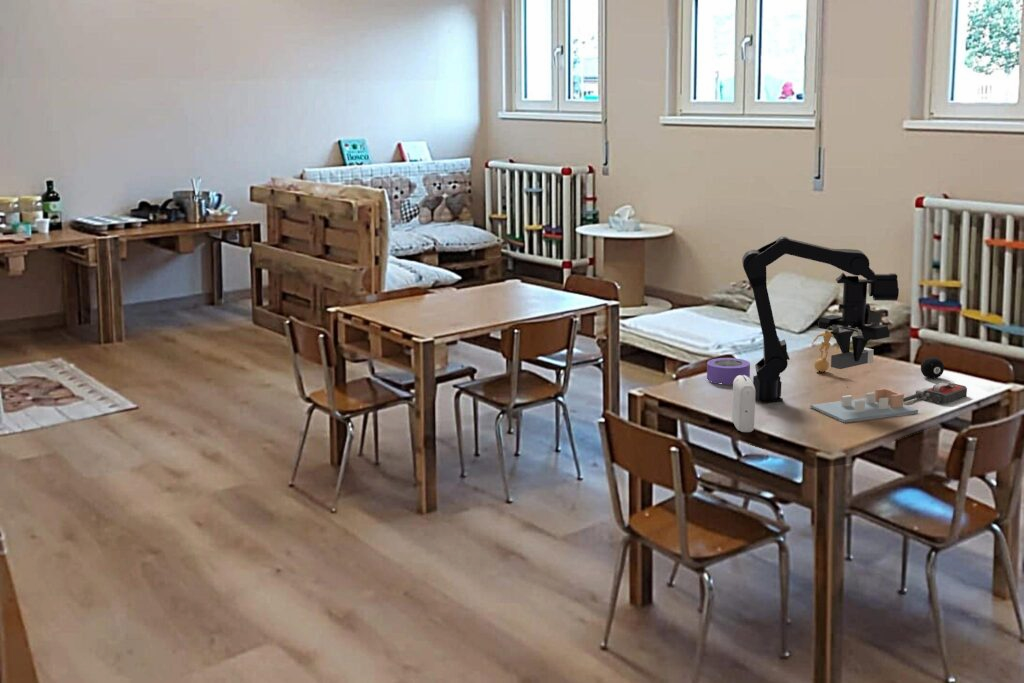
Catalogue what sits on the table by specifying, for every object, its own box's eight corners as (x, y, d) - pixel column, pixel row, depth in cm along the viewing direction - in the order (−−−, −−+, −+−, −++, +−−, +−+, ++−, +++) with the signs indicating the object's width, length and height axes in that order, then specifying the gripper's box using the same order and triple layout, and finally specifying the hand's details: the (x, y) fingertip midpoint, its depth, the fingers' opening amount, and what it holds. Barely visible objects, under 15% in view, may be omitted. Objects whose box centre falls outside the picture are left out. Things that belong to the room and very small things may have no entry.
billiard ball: (926, 381, 312) (927, 360, 311) (916, 375, 318) (917, 355, 317) (946, 380, 313) (948, 359, 312) (936, 375, 319) (938, 354, 317)
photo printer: (755, 432, 269) (757, 382, 266) (737, 432, 269) (739, 382, 266) (747, 419, 279) (749, 371, 276) (730, 420, 279) (731, 371, 276)
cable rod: (840, 369, 287) (841, 356, 286) (830, 366, 289) (830, 353, 289) (873, 362, 293) (873, 349, 292) (862, 359, 296) (863, 347, 295)
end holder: (892, 408, 285) (892, 395, 284) (874, 401, 291) (875, 389, 290) (902, 406, 286) (903, 394, 285) (885, 399, 292) (886, 387, 291)
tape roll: (706, 384, 312) (706, 367, 311) (706, 374, 324) (707, 357, 322) (750, 386, 310) (750, 368, 309) (749, 375, 322) (749, 358, 320)
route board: (843, 422, 276) (844, 409, 275) (810, 407, 289) (810, 394, 288) (917, 412, 283) (918, 399, 282) (881, 398, 296) (882, 386, 295)
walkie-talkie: (939, 390, 304) (898, 404, 292) (940, 374, 303) (899, 388, 291) (970, 397, 298) (929, 411, 285) (971, 381, 297) (930, 395, 284)
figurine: (804, 370, 325) (806, 329, 322) (815, 366, 329) (817, 326, 327) (831, 375, 319) (833, 334, 317) (841, 371, 324) (843, 330, 321)
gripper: (905, 301, 284) (902, 362, 287) (847, 291, 299) (844, 348, 303) (875, 307, 278) (872, 368, 282) (817, 296, 293) (815, 354, 297)
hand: (851, 359), depth 291 cm, fingers closed on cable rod, 3 cm apart
